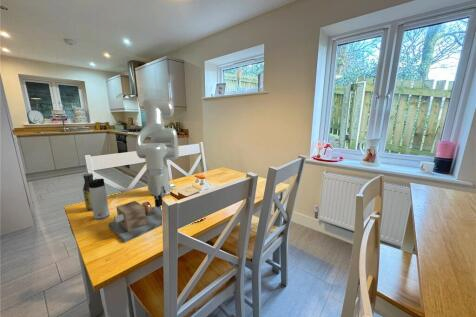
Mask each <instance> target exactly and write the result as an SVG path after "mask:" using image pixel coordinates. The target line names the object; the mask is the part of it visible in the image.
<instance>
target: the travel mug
mask: <svg viewBox="0 0 476 317" xmlns="http://www.w3.org/2000/svg"><path fill="white" fill-rule="evenodd" d="M88 184H89V191H90V196H91V202H92V208H93V210H92V213H93V218H94V220H96V221H103V220H106V219H107V218H108V217H110V209H109V204H108V202H109V201H108V197H107V192H106V191H107V190H106V185H105V179H104V178H96V179H93V181H89V182H88Z"/></svg>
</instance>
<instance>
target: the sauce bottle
mask: <svg viewBox="0 0 476 317" xmlns="http://www.w3.org/2000/svg"><path fill="white" fill-rule="evenodd" d="M82 176H83V179H84V184H83V188H82V192H83V200H84V204H85V209H86V210H87V211H89V212H91V211H92V212H93V208H92V202H91V196H90V191H89V184H88V182H89V181H93V180H94V174H93V173H92V172H91V173H90V172H89V173H84V174H83V175H82Z"/></svg>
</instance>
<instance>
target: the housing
mask: <svg viewBox="0 0 476 317" xmlns="http://www.w3.org/2000/svg"><path fill="white" fill-rule="evenodd" d="M151 207H152V213H151V214H148V215H146V213H145V207H144V206H142V203H139V202H137V201H136V200H134V201H129V202H127V203H124V204H121V205H118V206H116V212H117V215H120V214H123V217H124V221H121V222H119V223H115V220H113V221H112V222H111V221H110V222H109V223H108V224H107V225H108V228H110V230H111V231H113V232H114V233H115V235H116V236H118V237H119V238H120V240H122V241H123V242H124V243H126V242H129V241H131V240H133V239H135V238H137V237H140V236H143V235H144V234H146V233H149V232H151V231H154V230H155V229H157V228H159V227H162V226H163V225H162V210H161V207H162V206H160V207H156V206H155V205H154V206H151Z"/></svg>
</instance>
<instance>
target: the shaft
mask: <svg viewBox="0 0 476 317" xmlns="http://www.w3.org/2000/svg"><path fill="white" fill-rule="evenodd" d="M141 205H142V206H144V207H145V213H146V215H148V214H151V213H152V207H153V206H152V205H151V203H150V202H149V201H144V202H142V203H141ZM113 221H115V223H119V222H121V221H124V217H123V214H120V215H118V214H117V215H115V216H113Z"/></svg>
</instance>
